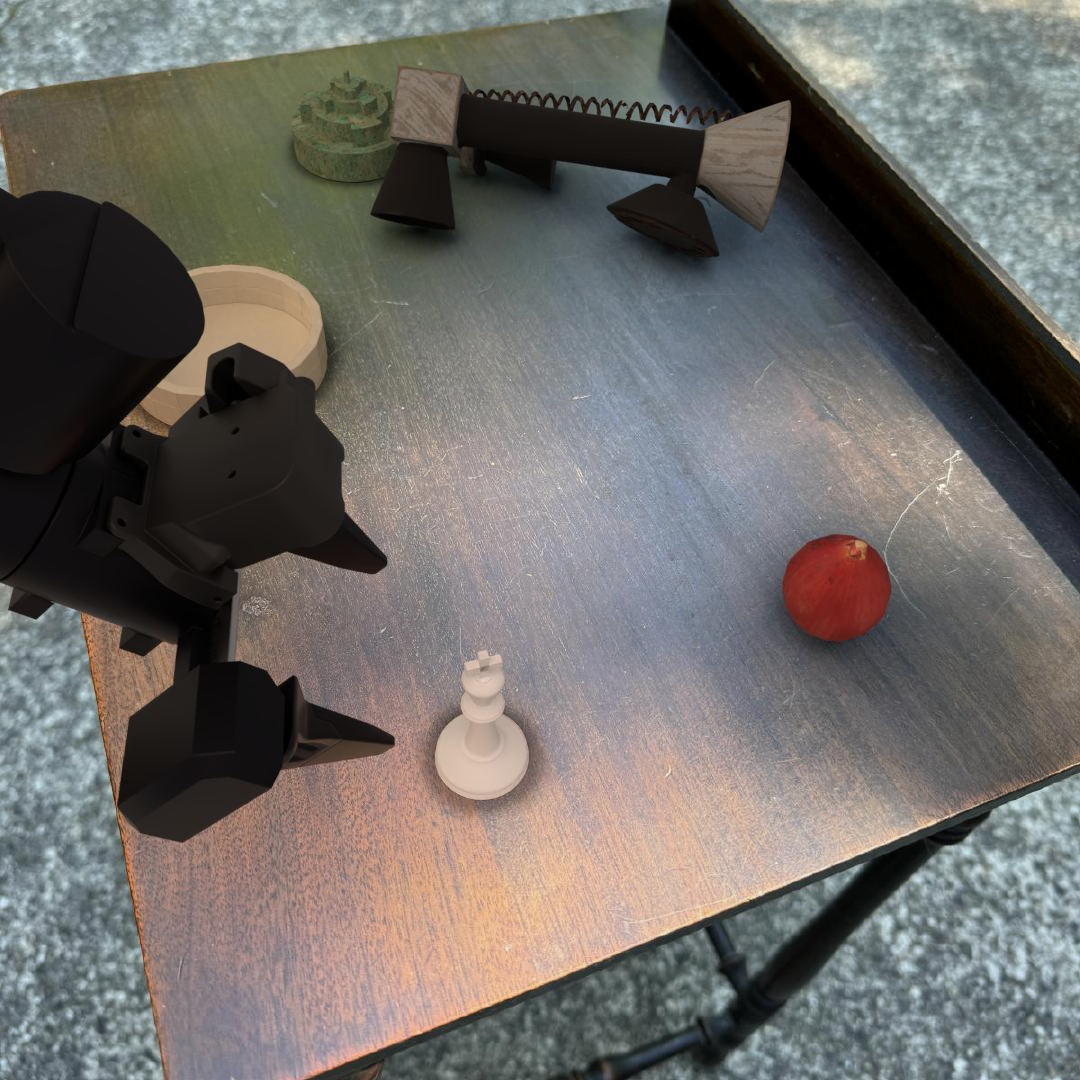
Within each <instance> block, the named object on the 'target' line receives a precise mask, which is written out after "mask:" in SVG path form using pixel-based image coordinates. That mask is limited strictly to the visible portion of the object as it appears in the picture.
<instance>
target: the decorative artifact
mask: <svg viewBox="0 0 1080 1080" xmlns="http://www.w3.org/2000/svg"><path fill="white" fill-rule="evenodd" d="M342 73H343V76H341V77H340V76H339V77H336V76H334V77H333V78H331V79H330V82H329V86H328V87H325V88H323V89H321V90H316V89H312V88H309V89H307V90H306V91H304V93H303V94H302V95H301V98H300V99H299V102H298V103H299V105H298V106H299V108H297V110H296V111H295V112H294V114H293V116H292V118H291V122H290V123H291V125H290V126H291V133H292V138H293V139H292V140H293V145H294V152H295V157H296V160H297V161H298V163H299V165H300V166H301V167H303V168H304V169H305V170H307V171H308V172H309V173H311V174H313V175H315V176H316V177H320V178H323V179H326V180H330V181H335V182H343V183H360V182H369V181H375V180H378V179H382V178H385V176H386V173H387V171H388V168H389V166H390V164H391V161H392V159H393V157H394V154H395V152H396V148H397V145H396V143H395V141H394V140H393V139H392V138H391V137H390V131H391V122H392V114H393V106H394V100H393V96H392V95H393V94H392V90H391V89H390V88H389V87H387V86H386V85H383V84H381V83H379V82H375V81H373V80H368V79H366V78H363V77H361V76H350V70H348V69H343V70H342Z"/></svg>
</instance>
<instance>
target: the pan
mask: <svg viewBox="0 0 1080 1080" xmlns="http://www.w3.org/2000/svg"><path fill="white" fill-rule="evenodd" d="M187 272H188V273H189V275H190V277H191V278H192V280H193V282H194V283H195V285H196V288H197V290H198V293H199V295H200V298H201V301H202V304H203V310H204V316H205V328H204V333H203V335H202V337H201V339H200V341H199V342H198V344H197V346H196V347H195V348H194V349H193V350H192V351H191V352H190V353H189V354H188V355H187V356H186V357H185V358H184V359H183V360H182V361H181V362H180V363H179V364H178V365H177V366H176V367H175V368H174V369H173V370H172V371H171V372H170V373H169V374H168V375H167V376H166V377H165V378H164V379H163V380H162V381H161V382H160V383H159V384H158V385H157V386H156V387H155V388H154V389H153V390H152V391H151V392H150V393H149V394H148V395H147V396H146V397H145V398H144V399H143V400H142V401H141V402H140V403H139V405H140V406H141V407H142V409H143V410H144V411H146V412H147V413H148V414H149V415H150V416H152V417H153V418H155V419H157V420H158V421H159V422H162V423H164V424H166V425H168V426H170V427H171V426H172V425H173V424H174V423H175V422H176V421H177V420H178V419H179V418H180V417H181V416H182V415H183V414H185V413H186V412H187V411H188V410H189V409H190V408H191V407H192V406H193V405H194V404H195V403H196V402H197V401H198V400H199V399H200V398H201V397H202V396H203V395H204V394H205V379H206V370H207V361H208V357H209V356H210V355H211V354H213V353H215V352H217V351H220V350H222V349H224V348H227V347H229V346H231V345H234V344H236V343H238V342H240V343H243V344H245V345H247V346H249V347H251V348H253V349H255V350H257V351H259V352H262V353H264V354H266V355H268V356H270V357H272V358H274V359H276V360H278V361H280V362H282V363H283V364H285V365H286V366H287V367H288V369H289V370H290V371H291V372H292V373H293V374H294V376H295V377H300V376H301V377H307V378H310V379H311V380H313V382H314V383H315V386H316V391H317V390H318V389H319V388H320V386H321V384H322V382H323V380H324V378H325V375H326V372H327V369H328V348H327V342H326V335H325V329H324V321H323V316H322V310H321V306H320V304H319V302H318V301H317V299H316V298H315V297H314V296H313V294H312V293H311V292H310V290H309V289H308V288H307V287H306V286H304V284H301V283H300V282H299V281H297V280H295V279H293V278H292V277H291V276H289V275H287V274H285V273H282V272H278V271H276V270H272V269H268V268H266V267H263V266H256V265H255V266H254V265H243V264H230V263H229V264H221V265H211V266H203V267H202V266H201V267H197V268H194V269H191V270H190V269H189V270H187Z"/></svg>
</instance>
